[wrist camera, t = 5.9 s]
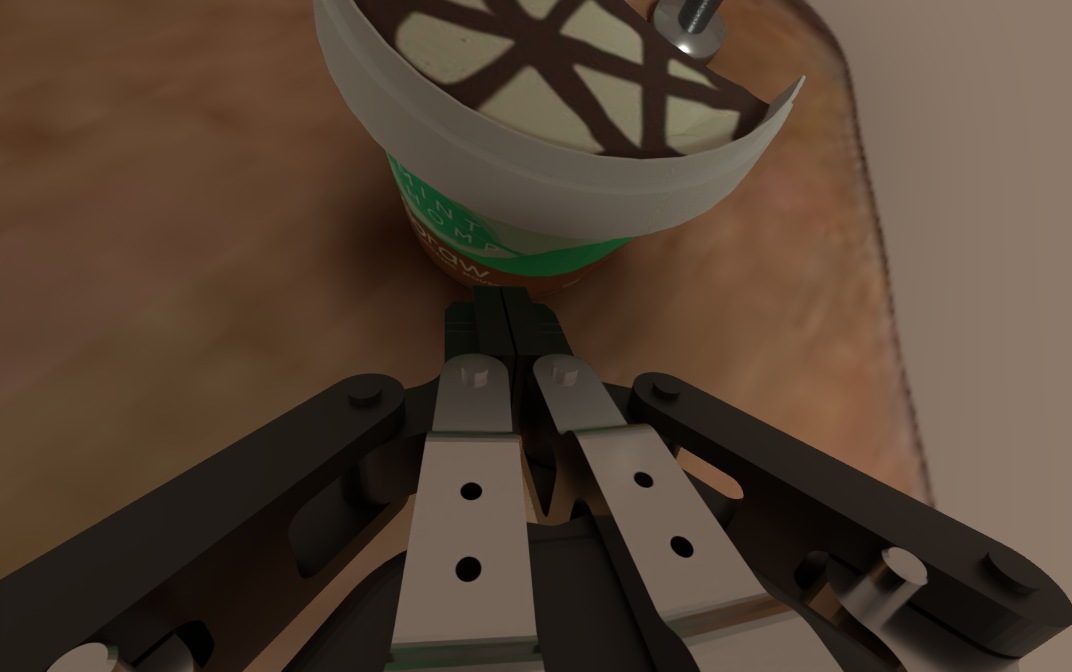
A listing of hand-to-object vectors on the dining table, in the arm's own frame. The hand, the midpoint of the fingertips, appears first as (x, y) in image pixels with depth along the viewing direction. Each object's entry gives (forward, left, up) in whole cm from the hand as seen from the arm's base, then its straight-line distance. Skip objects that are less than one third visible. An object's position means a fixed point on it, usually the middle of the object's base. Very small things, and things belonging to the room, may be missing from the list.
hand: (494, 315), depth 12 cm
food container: (0, +4, -5) cm, 7 cm away
